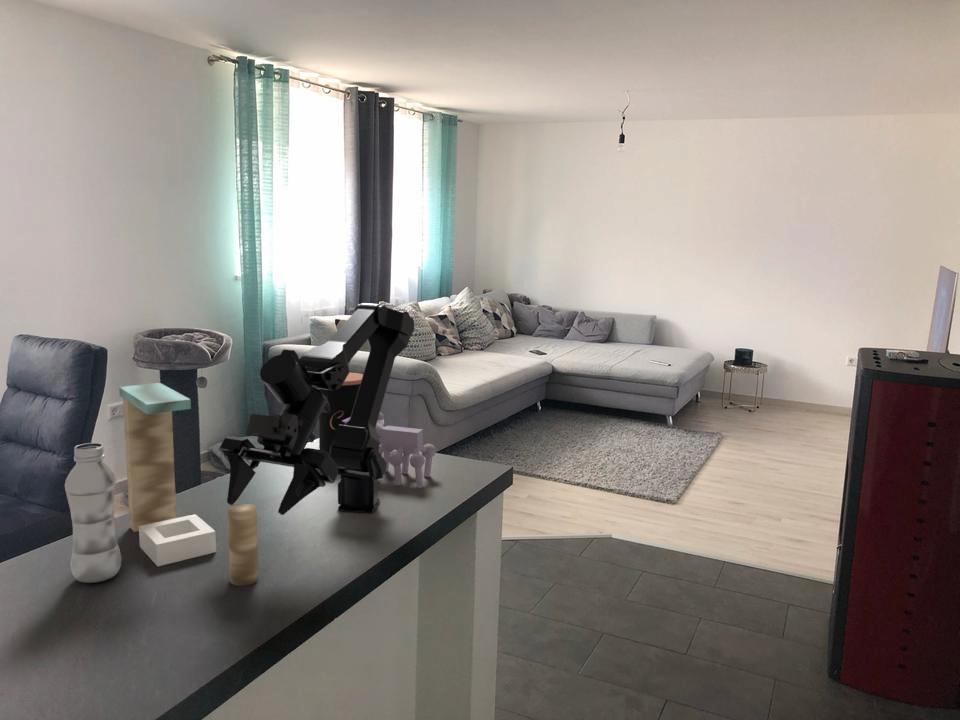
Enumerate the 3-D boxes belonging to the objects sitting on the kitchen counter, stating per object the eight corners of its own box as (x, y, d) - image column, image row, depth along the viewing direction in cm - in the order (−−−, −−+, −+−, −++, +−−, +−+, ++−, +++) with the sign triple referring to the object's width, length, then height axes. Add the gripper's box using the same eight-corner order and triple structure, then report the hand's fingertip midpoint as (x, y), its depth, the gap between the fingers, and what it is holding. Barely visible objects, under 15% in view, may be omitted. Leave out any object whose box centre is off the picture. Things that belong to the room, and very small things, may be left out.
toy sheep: (329, 478, 160) (330, 413, 158) (352, 466, 170) (354, 405, 169) (420, 490, 154) (422, 423, 153) (438, 477, 165) (441, 414, 163)
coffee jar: (327, 463, 171) (326, 382, 167) (313, 450, 180) (313, 373, 177) (373, 457, 175) (373, 379, 172) (358, 445, 185) (358, 370, 182)
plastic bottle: (130, 578, 114) (122, 446, 111) (81, 593, 109) (72, 456, 106) (111, 564, 118) (104, 437, 115) (64, 578, 113) (55, 446, 110)
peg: (262, 574, 116) (260, 504, 115) (252, 586, 112) (250, 514, 111) (236, 572, 117) (234, 502, 115) (225, 584, 113) (223, 512, 111)
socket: (196, 533, 131) (195, 514, 130) (216, 552, 124) (215, 531, 123) (139, 546, 125) (138, 526, 124) (157, 566, 118) (156, 544, 118)
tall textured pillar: (171, 518, 137) (165, 382, 133) (202, 546, 126) (197, 398, 121) (126, 528, 132) (119, 386, 128) (154, 558, 121) (146, 404, 117)
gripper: (225, 385, 121) (175, 473, 113) (328, 398, 114) (283, 492, 106) (258, 424, 130) (214, 508, 121) (355, 438, 123) (316, 528, 114)
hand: (254, 508), depth 115 cm, fingers open, 9 cm apart
